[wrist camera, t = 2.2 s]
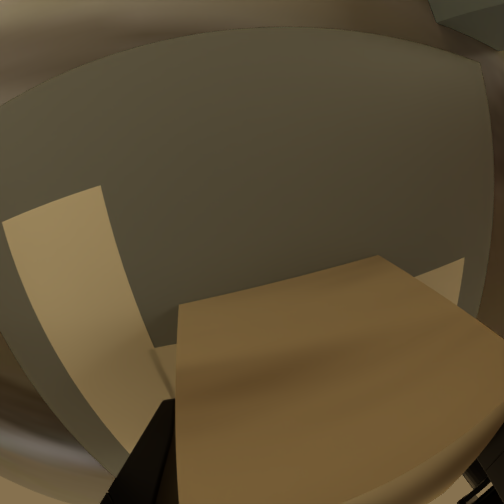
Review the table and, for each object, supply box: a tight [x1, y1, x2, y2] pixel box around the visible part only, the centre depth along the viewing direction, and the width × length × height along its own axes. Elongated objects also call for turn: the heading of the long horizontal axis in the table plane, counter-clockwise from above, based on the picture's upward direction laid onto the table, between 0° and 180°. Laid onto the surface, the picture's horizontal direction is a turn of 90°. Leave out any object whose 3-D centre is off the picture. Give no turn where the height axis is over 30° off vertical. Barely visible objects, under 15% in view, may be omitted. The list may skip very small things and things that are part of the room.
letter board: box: [0, 27, 494, 478], centre depth 9 cm, size 18×18×1 cm
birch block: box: [175, 255, 504, 504], centre depth 6 cm, size 6×6×6 cm
